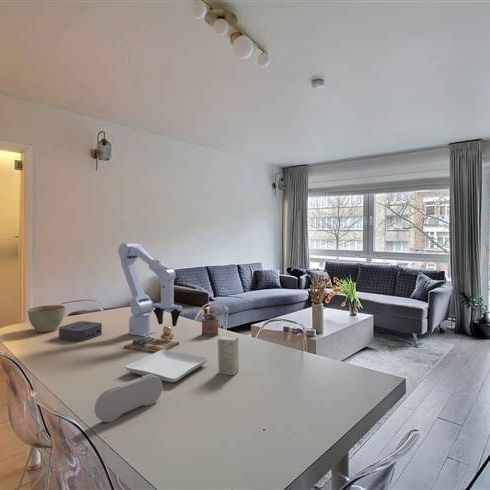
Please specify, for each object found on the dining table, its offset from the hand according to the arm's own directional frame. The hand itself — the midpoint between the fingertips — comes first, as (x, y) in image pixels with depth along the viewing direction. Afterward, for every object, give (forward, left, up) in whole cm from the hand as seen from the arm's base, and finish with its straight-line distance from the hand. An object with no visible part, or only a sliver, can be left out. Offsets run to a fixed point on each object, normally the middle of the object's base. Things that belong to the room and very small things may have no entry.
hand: (167, 325), depth 162 cm
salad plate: (+23, -31, -7) cm, 39 cm away
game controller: (+31, -59, -6) cm, 67 cm away
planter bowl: (-61, -14, -6) cm, 63 cm away
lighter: (+15, +13, -6) cm, 21 cm away
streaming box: (-38, -14, -7) cm, 41 cm away
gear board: (+1, -12, -6) cm, 13 cm away
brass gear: (0, 0, -6) cm, 6 cm away
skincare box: (+43, -24, -6) cm, 50 cm away
